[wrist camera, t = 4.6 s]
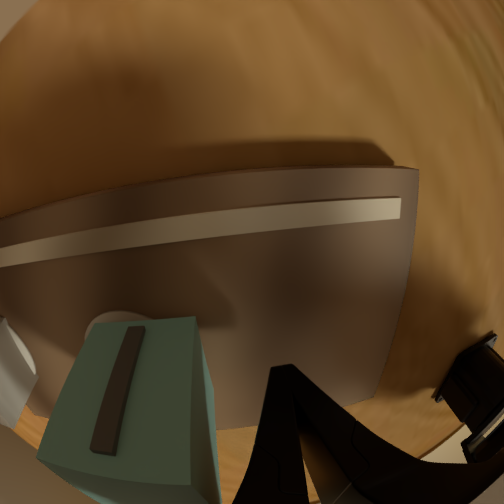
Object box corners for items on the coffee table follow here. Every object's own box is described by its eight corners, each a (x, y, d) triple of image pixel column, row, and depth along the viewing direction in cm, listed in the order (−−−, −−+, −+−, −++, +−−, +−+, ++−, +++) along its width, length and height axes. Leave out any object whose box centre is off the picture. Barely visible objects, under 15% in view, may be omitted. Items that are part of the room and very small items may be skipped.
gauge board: (401, 166, 10) (499, 191, 5) (365, 384, 15) (400, 445, 10) (-48, 236, 8) (-103, 274, 3) (34, 402, 12) (13, 453, 8)
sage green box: (194, 311, 9) (188, 482, 3) (213, 389, 11) (223, 517, 5) (92, 318, 9) (31, 453, 3) (128, 391, 10) (108, 507, 5)
